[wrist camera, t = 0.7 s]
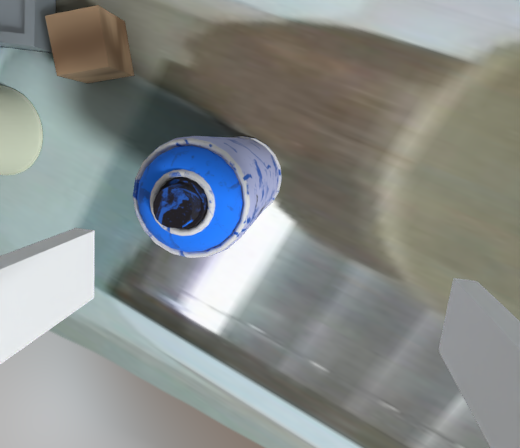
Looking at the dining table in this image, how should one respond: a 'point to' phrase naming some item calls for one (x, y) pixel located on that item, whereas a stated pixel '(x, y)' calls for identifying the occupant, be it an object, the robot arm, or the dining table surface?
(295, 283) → the dining table surface
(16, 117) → the can
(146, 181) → the aerosol can
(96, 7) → the walnut block
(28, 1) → the tray
